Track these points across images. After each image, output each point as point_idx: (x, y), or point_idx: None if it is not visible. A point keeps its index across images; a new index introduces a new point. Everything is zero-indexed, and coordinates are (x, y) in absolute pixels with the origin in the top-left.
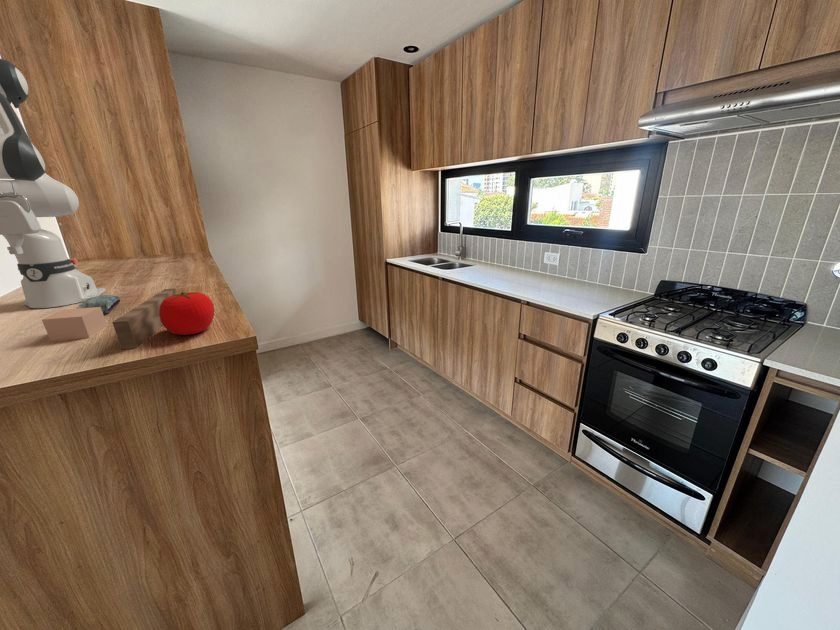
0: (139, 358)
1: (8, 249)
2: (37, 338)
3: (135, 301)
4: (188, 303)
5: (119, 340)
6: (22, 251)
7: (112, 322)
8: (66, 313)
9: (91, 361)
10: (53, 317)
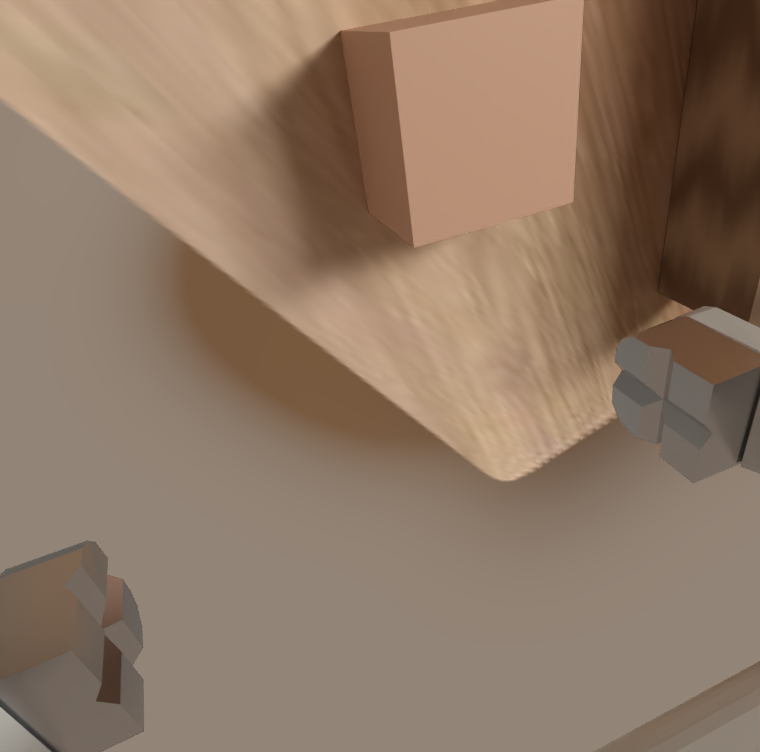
0: None
1: (670, 458)
2: (265, 170)
3: None
4: None
5: (686, 304)
6: (716, 317)
7: None
8: (465, 137)
9: (612, 368)
10: (447, 212)
